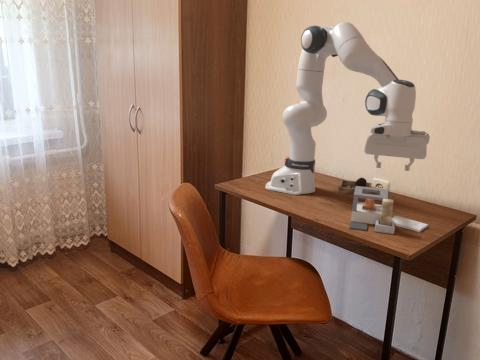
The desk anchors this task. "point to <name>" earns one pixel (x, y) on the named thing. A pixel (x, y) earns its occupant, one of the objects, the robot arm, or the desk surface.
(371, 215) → the grey open box frame
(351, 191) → the watch tray
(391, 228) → the grey square tray
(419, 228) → the external hard drive
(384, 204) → the tan rectangular block
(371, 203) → the button
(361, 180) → the dark brown rounded lump
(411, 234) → the desk surface
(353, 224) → the pad
